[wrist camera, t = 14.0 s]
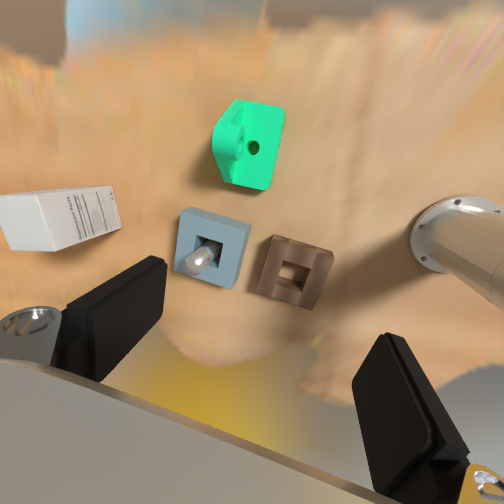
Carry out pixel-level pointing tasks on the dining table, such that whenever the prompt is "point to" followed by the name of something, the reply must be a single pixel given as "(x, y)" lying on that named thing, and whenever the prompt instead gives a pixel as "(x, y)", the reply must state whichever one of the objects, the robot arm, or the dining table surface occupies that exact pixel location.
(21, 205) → the supplement box
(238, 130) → the camera mount
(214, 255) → the steel pin
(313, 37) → the dining table surface
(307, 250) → the walnut mount block
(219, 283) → the socket block
